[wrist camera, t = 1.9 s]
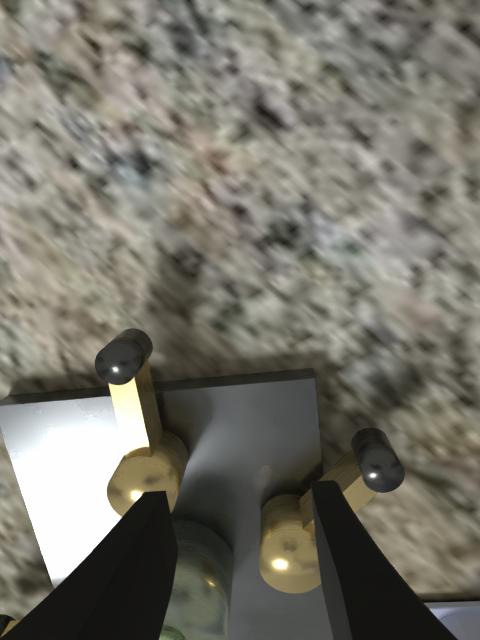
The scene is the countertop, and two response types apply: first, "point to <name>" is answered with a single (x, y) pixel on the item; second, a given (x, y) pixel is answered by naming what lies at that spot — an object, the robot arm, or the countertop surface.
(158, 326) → the countertop surface
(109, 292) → the countertop surface
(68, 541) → the plate
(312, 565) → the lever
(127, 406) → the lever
